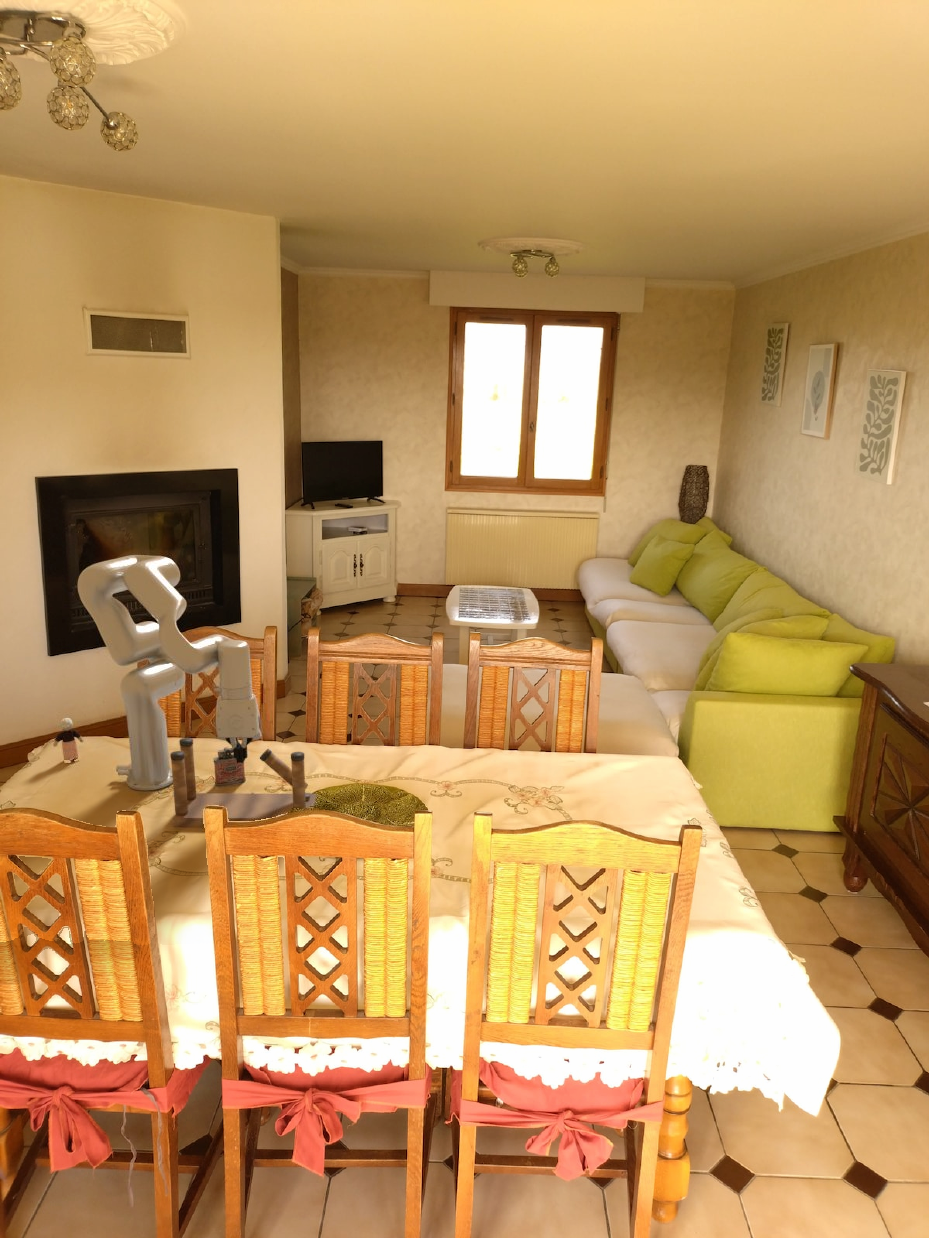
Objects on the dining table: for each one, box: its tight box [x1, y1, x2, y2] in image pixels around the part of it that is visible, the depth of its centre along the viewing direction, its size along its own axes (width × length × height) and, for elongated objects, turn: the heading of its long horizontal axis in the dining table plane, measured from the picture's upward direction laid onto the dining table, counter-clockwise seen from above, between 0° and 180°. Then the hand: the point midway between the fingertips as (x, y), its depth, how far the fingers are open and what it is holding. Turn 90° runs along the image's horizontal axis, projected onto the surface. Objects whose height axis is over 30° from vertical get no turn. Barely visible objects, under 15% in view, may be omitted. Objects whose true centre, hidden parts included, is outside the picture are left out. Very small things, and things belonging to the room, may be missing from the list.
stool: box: [169, 737, 318, 828], centre depth 231 cm, size 33×13×18 cm, turn 91°
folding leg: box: [259, 748, 309, 790], centre depth 235 cm, size 14×3×3 cm
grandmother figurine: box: [52, 717, 84, 761], centre depth 260 cm, size 8×4×13 cm, turn 133°
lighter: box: [213, 746, 246, 788], centre depth 249 cm, size 8×3×10 cm, turn 117°
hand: (241, 760), depth 234 cm, fingers closed
